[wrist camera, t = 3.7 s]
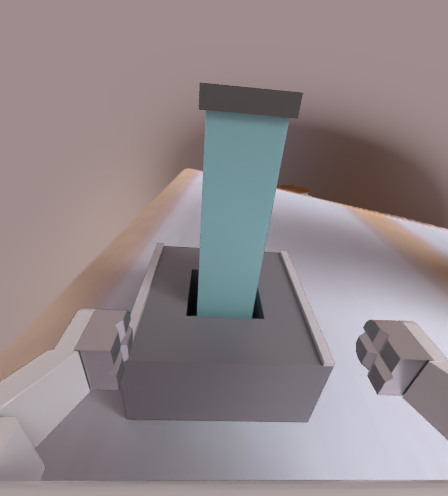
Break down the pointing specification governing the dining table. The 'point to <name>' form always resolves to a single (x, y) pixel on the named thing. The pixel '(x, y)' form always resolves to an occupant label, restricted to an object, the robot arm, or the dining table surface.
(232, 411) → the grey socket base
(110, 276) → the dining table surface
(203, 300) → the plug
